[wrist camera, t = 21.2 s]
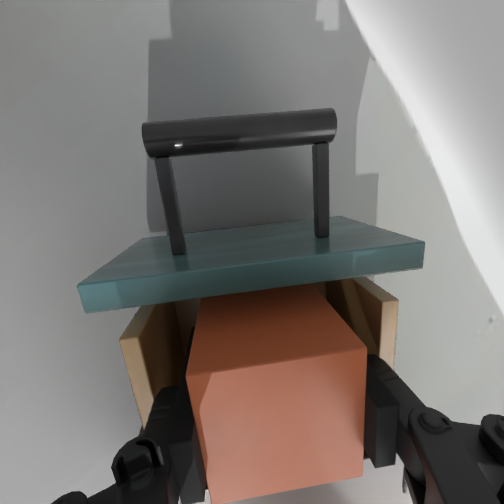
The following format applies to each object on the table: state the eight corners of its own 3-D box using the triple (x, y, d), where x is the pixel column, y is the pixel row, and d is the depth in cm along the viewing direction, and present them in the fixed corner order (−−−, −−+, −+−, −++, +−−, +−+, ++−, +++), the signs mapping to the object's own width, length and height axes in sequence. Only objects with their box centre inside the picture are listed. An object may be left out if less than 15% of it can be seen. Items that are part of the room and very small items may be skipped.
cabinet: (164, 357, 20) (114, 506, 11) (342, 330, 22) (433, 445, 12) (193, 486, 25) (174, 676, 15) (341, 458, 26) (409, 618, 16)
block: (201, 294, 14) (184, 375, 8) (309, 280, 14) (368, 347, 8) (215, 385, 15) (211, 506, 10) (312, 369, 16) (363, 477, 10)
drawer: (121, 145, 15) (21, 110, 8) (340, 126, 16) (442, 80, 9) (177, 402, 21) (151, 530, 13) (340, 375, 22) (402, 479, 14)
